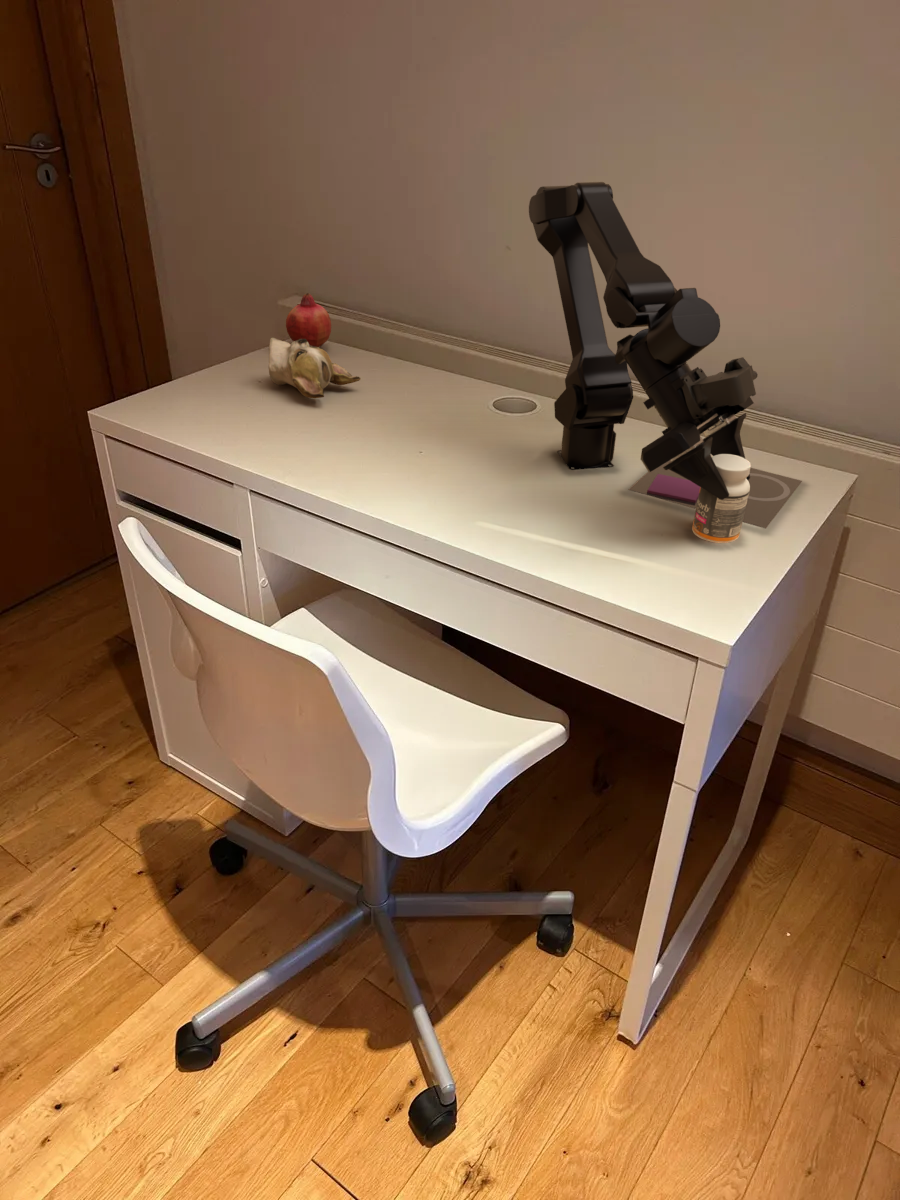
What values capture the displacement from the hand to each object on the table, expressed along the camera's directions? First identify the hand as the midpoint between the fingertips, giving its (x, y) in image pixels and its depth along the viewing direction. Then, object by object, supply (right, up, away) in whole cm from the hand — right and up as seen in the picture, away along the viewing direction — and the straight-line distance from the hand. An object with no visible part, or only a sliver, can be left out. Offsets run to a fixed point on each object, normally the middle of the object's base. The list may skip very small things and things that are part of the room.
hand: (736, 489), depth 111 cm
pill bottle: (-1, -5, +5) cm, 7 cm away
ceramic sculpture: (-57, +21, +43) cm, 74 cm away
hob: (+2, +2, +15) cm, 16 cm away
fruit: (-59, +32, +60) cm, 90 cm away
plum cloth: (-4, +2, +14) cm, 14 cm away
